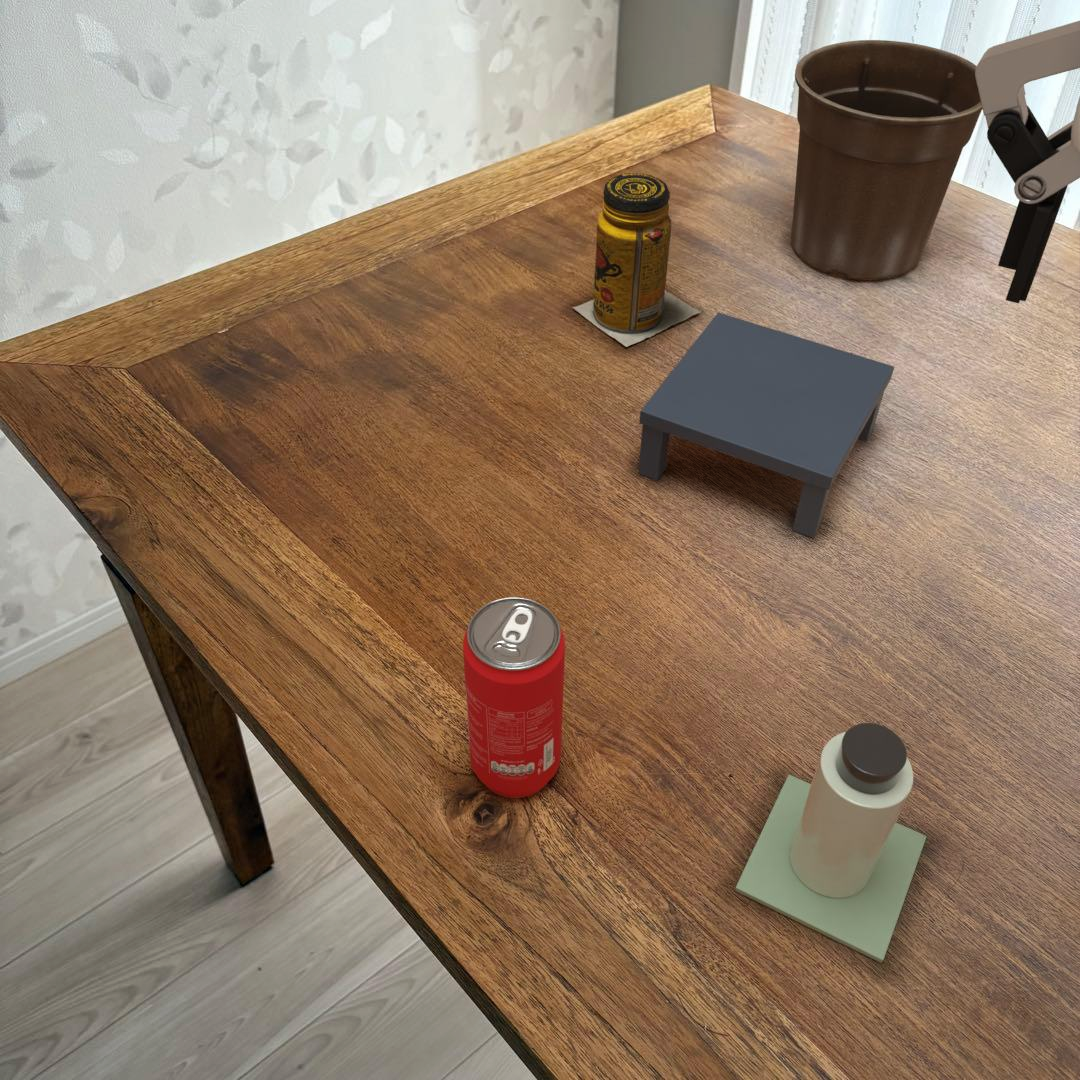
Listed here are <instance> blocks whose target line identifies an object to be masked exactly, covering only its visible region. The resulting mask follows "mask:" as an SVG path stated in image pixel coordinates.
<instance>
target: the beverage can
mask: <svg viewBox="0 0 1080 1080" xmlns="http://www.w3.org/2000/svg"><path fill="white" fill-rule="evenodd" d="M462 654H463V655H462V656H463V670H464V685H465V686H464V687H465V698H466V699H465V700H466V701H465V702H466V716H467V733H468V747H469V748H468V749H469V760H470V765H471V768H472V771H473V772H474V775H476V777H477V778H478V779H479V781H480V782H482V784H483V785H484V786H485V787H486V788H487V789H488V790H489V791H491V792H492V793H494V794H496V795H498V796H499V797H503V798H507V799H524V798H527V797H531V796H533V795H535V794H536V793H538V792H540V791H541V790H542V789H544V788H545V787H546V786H547V785H548V783H549V782H550V780H552V778H554V776H555V774H556V773H557V771H558V769H559V767H560V763H561V758H562V757H561V756H562V736H563V735H562V734H563V713H564V712H563V709H564V683H565V660H566V637H565V635H564V632H563V630H562V628H561V625H560V623H559V621H558V618H557V617H556V615H555V614H554V613H553V611H551V609H549V608H548V607H547V606H545V605H544V604H543V603H540V602H539V601H536V600H533V599H531V598H530V599H529V598H525V597H519V596H518V597H514V596H511V597H503V598H499V599H495V600H492V601H490V602H487V603H486V604H484V605H483V606H481V607H480V608H479V609H478V610H476V612H475V613H474V614H473V616H472V617H471V618H470V620H469V623H468V625H467V629H466V630H465V632H464V635H463V640H462Z"/></svg>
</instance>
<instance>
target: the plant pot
mask: <svg viewBox="0 0 1080 1080" xmlns="http://www.w3.org/2000/svg"><path fill="white" fill-rule="evenodd" d="M976 67H977V64H975V63H973V62H972V61H970V60H968V59H966V58H964V57H962V56H960V55H958V54H955V53H952V52H950V51H947V50H944V49H940V48H937V47H933V46H927V45H924V44H919V43H913V42H905V41H897V40H885V39H859V40H850V41H849V40H848V41H842V42H837V43H832V44H829V45H825V46H821V47H819V48H817V49H814V50H812V51H810V52H808V53H806V54H805V55H803V57H801V58H800V59H799V61H798V62H797V64H796V66H795V70H794V79H795V83H796V85H797V87H798V94H797V95H798V96H797V111H796V112H797V113H796V115H797V116H796V120H797V122H798V125H799V135H798V147H797V160H796V170H795V171H796V172H795V185H794V198H793V211H792V222H791V231H790V243H791V246H792V248H793V250H794V251H795V253H796V254H797V256H798V257H800V259H801V260H803V261H804V262H805V263H807V264H808V265H810V266H811V267H813V268H815V269H816V270H818V271H821V272H824V273H826V274H830V273H833V272H838V273H841V274H844V275H845V276H846V277H847V278H849V279H852V280H859V281H860V280H862V281H876V280H885V279H890V278H894V277H898V276H901V275H904V274H906V273H908V272H910V271H911V270H913V269H914V268H915V267H917V266H918V264H919V262H920V260H921V259H922V257H923V255H924V253H925V250H926V247H927V245H928V242H929V239H930V236H931V234H932V231H933V228H934V225H935V222H936V220H937V217H938V215H939V212H940V210H941V207H942V205H943V202H944V199H945V197H946V194H947V190H948V188H949V186H950V183H951V180H952V177H953V175H954V173H955V170H956V168H957V166H958V162H959V160H960V157H961V155H962V152H963V149H964V147H965V146H966V145H967V144H968V143H969V141H971V138H972V136H973V133H974V131H975V128H976V126H977V123H978V120H979V118H980V116H981V113H982V112H983V109H982V104H981V100H980V95H979V91H978V86H977V82H976V77H975V69H976Z"/></svg>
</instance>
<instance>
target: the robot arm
mask: <svg viewBox="0 0 1080 1080" xmlns="http://www.w3.org/2000/svg"><path fill="white" fill-rule="evenodd" d="M976 66H977V67H976V69H975V77H976V82H977V86H978V91H979V95H980V100H981V104H982V113H983V116H985V117H984V118H985V121H986V126H987V131H986V139H987V140H988V143H989V144H990V146H991V148H992V149H993V151H994V152H995V154H996V156H997V158H998V159H999V161H1000V163H1001V164H1002V166H1003V167H1004V168H1005V170H1006V171H1007V173H1008V175H1009V177H1010V178H1011V179H1012V181H1013V183H1014V187H1013V191H1014V195H1015V197H1016V198H1017V200H1018V204H1017V207H1016V209H1015V213H1014V215H1013V218H1012V222H1011V225H1010V228H1009V229H1008V230H1009V231H1008V234H1007V237H1006V239H1005V242H1004V245H1003V249H1002V252H1001V255H1000V257H999V261H998V264H997V266H998V267H1000V268H1004V269H1008V270H1013V271H1014V274H1013V276H1012V280H1011V282H1010V286H1009V288H1008V291H1007V294H1006V297H1005V301H1007V302H1011V303H1015V304H1020V302H1021V301H1022V302H1026V301H1027V299H1028V296H1029V293H1030V290H1031V288H1032V285H1033V283H1034V280H1035V277H1036V275H1037V272H1038V269H1039V266H1040V264H1041V261H1042V259H1043V255H1044V252H1045V250H1046V247H1047V244H1048V242H1049V239H1050V236H1051V233H1052V232H1053V228H1054V225H1055V222H1056V219H1057V218H1058V217H1057V216H1058V214H1059V212H1060V208H1061V207H1062V203H1063V200H1064V197H1065V195H1066V192H1067V189H1068V186H1069V185H1071V184H1072V183H1074V182H1076V181H1077V180H1078V179H1080V96H1079V97H1078V100H1077V104H1076V108H1075V112H1074V116H1073V120H1072V121H1070V122H1069V123H1067V124H1066V125H1064V126H1063V127H1061V128H1059V129H1058V130H1056V131H1055V132H1053V133H1051V134H1050V135H1049V136H1047V135H1046V133H1045V131H1044V130H1043V128H1042V127H1041V125H1040V123H1039V121H1038V120H1037V118H1036V117H1035V115H1034V113H1033V111H1032V109H1031V108H1030V107H1029V105H1027V100H1026V90H1025V85H1026V84H1028V83H1030V82H1033V81H1034V82H1035V81H1037V80H1040V79H1045V78H1048V77H1051V76H1055V75H1059V74H1063V73H1066V72H1070V71H1074V70H1079V69H1080V20H1077V21H1073V22H1070V23H1067V24H1063V25H1060V26H1056V27H1053V28H1050V29H1046V30H1043V31H1040V32H1037V33H1033V34H1029V35H1027V36H1026V35H1025V36H1023V37H1019V38H1017V39H1013V40H1009V41H1006V42H1002V43H999V44H996V45H993V46H990V47H988V48H987V50H986V51H985V52H984V53H983V55H982V56H981V58H980V59H979V61H978V63H977V64H976Z"/></svg>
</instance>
